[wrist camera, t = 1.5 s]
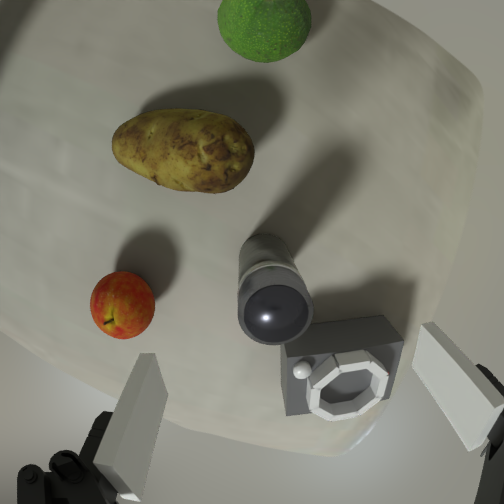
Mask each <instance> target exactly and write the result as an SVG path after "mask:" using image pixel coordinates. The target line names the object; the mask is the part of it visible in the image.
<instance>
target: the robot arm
mask: <svg viewBox="0 0 504 504" xmlns="http://www.w3.org/2000/svg"><path fill="white" fill-rule="evenodd" d="M412 368H413V369H414V370H415V372H416V373H417V375H418V376H419V377H420V379H421V380H422V382H423V383H424V385H425V386H426V388H427V389H428V390H429V392H430V393H431V395H432V396H433V397H434V399H435V401H436V402H437V404H438V405H439V407H440V408H441V410H442V411H443V413H444V414H445V415H446V417H447V419H448V420H449V422H450V423H451V425H452V426H453V428H454V429H455V431H456V433H457V434H458V435H459V437H460V439H461V440H462V442H463V444H464V445H465V447H466V448H467V450H468V451H471V450H473V449H475V448H477V447H479V446H481V445H482V443H483V442H484V440H485V438H486V437H488V439H489V440H490V441H489V443H488V444H487V446H486V447H485V449H484V450H483V451H482V453H481V455H480V456H481V457H482V456H483V455H484V453H485V452H486V455H485V461H484V466H483V470H482V475H481V480H480V483H479V487H478V492H477V495H476V499H475V502H474V504H504V386H503V385H502V384H501V383H500V382H498V380H497V378H496V377H494V376H493V374H492V373H491V372H490V371H489V370H488V369H487V368H486V367H484V366H482V365H480V364H477V365H474V364H473V362H472V361H471V360H469V358H468V357H467V356H466V355H465V354H464V353H463V352H462V351H461V350H460V349H459V348H458V347H457V346H456V345H455V344H454V342H453V341H452V340H451V339H450V338H449V337H448V336H447V335H446V334H445V333H444V332H443V331H441V329H440V328H439V327H438V326H437V325H436V324H435V323H434V322H429V323H425V324H421V328H420V332H419V337H418V342H417V346H416V351H415V355H414V359H413V363H412ZM167 397H168V393H167V390H166V387H165V384H164V381H163V378H162V375H161V372H160V368H159V365H158V362H157V359H156V355H155V353H140V355H139V357H138V359H137V361H136V364H135V366H134V368H133V370H132V372H131V374H130V377H129V379H128V381H127V383H126V385H125V388H124V390H123V392H122V394H121V396H120V399H119V401H118V403H117V406H116V408H115V411H114V412H107V411H103V412H102V413H101V414H100V415H99V416H98V417H97V418H96V419H95V421H94V423H93V425H92V429H91V430H90V432H89V434H88V437H87V438H86V441H85V443H84V445H83V447H82V449H81V452H80V454H79V456H78V455H77V454H76V453H74V452H73V451H69V450H63V451H59V452H57V453H56V454H54V456H52V458H51V459H50V462H49V469H50V470H51V471H52V472H44V471H43V470H42V469H41V468H40V467H38V466H37V465H33V464H29V465H26V466H24V467H23V468H21V470H20V471H19V472H18V477H17V504H119V503H118V502H117V501H116V496H117V493H119V495H120V496H121V497H122V498H123V499H128V500H133V501H140V502H141V500H142V495H143V491H144V487H145V483H146V478H147V474H148V470H149V466H150V462H151V458H152V453H153V450H154V446H155V442H156V438H157V434H158V431H159V427H160V423H161V419H162V416H163V412H164V408H165V405H166V401H167Z"/></svg>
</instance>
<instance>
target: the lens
mask: <svg viewBox="0 0 504 504" xmlns="http://www.w3.org/2000/svg"><path fill="white" fill-rule="evenodd" d="M237 297H238V320H239V324H240V326H241V328H242V330H243V331H244V333H245V334H246V335H247V336H249V337H250V338H251V339H253V340H254V341H256V342H259V343H262V344H266V345H281V344H285V343H288V342H291V341H293V340H295V339H296V338H298V337H299V336H301V335H302V334H303V333H304V332H305V331H306V329H307V328H308V327H309V325H310V323H311V321H312V318H313V312H314V308H313V302H312V299H311V297H310V295H309V293H308V290H307V288H306V285H305V283H304V280H303V278H302V277H301V275H300V273H299V271H298V269H297V267H296V265H295V263H294V261H293V259H292V257H291V255H290V253H289V251H288V249H287V247H286V245H285V243H284V242H283V241H282V240H281V239H280V238H278V237H276V236H274V235H271V234H258V235H255V236H253V237H251V238H249V239H248V240H247V241H246V242H245V243H244V244H243V246H242V248H241V250H240V254H239V282H238V296H237Z"/></svg>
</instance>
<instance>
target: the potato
mask: <svg viewBox="0 0 504 504" xmlns="http://www.w3.org/2000/svg"><path fill="white" fill-rule="evenodd" d="M112 151H113V154H114V156H115V158H116V159H117V161H118V162H119V163H120V164H122V165H123V166H125V167H126V168H128V169H130V170H132V171H134V172H135V173H137V174H139V175H141V176H143V177H145V178H147V179H149V180H151V181H154V182H156V183H157V185H162V186H164V187H167V188H170V189H173V190H177V191H190V192H195V191H197V192H204V193H213V194H215V193H223V192H227V191H229V190H231V189H234V187H235V186H237V185H238V184H239V183H241V182H242V180H243V179H244V178H245V177H246V176H247V174H248V172H249V171H250V168H251V166H252V164H253V160H254V153H255V151H254V146H253V143H252V140H251V138H250V136H249V135H248V134H247V132H246V131H245V129H244V128H242V126H241V125H239V124H238V123H237V122H236V121H235V120H233V119H231V118H230V117H228V116H225V115H222V114H218V113H212V112H208V111H204V110H196V109H179V108H176V109H172V108H171V109H160V110H153V111H149V112H146V113H143V114H140V115H138V116H136V117H134V118H132V119H130V120H128V121H126V122H125V123H123V124H122V125H121V126H120V127H119V128H118V129H117V130H116V131H115V133H114V135H113V138H112Z"/></svg>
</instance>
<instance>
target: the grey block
mask: <svg viewBox="0 0 504 504" xmlns="http://www.w3.org/2000/svg"><path fill="white" fill-rule="evenodd" d="M403 344H404V340H403V339H402V337H401V336H400V335H399V334H398V332H397V331H396V330H395V329H394V327H393V326H392V325H391V324H390V322H389V321H388V320H387V319H386V317H385V316H384V315H380V316H373V317H366V318H359V319H351V320H343V321H334V322H326V323H316V324H310V325H309V327H308V328H307V329H306V331H305V332H304V333H303V334H302V335H301V336H299V337H298V338H296V339H295V340H293V341H291V342H288V343H285V344H281V387H282V393H283V399H284V405H285V411H286V416H291V415H300V414H308V413H314V414H316V415H318V416H320V417H321V418H323V419H325V420H327V421H330V420H331V422H332V421H337V420H343V419H349V418H354V417H358V415H362V414H363V413H364V412H366V411H367V410H368V409H369V408H371V407H372V406H373V405H375V404H376V403H377V402H378V401H381V400H386V399H389V397H390V394H391V390H392V387H393V383H394V380H395V376H396V372H397V368H398V365H399V361H400V356H401V352H402V348H403Z"/></svg>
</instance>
